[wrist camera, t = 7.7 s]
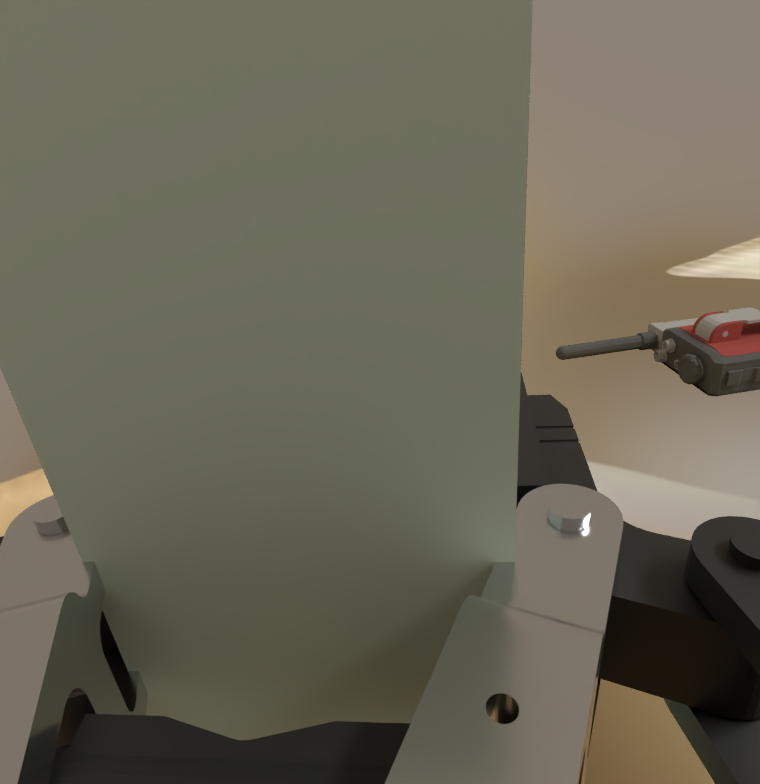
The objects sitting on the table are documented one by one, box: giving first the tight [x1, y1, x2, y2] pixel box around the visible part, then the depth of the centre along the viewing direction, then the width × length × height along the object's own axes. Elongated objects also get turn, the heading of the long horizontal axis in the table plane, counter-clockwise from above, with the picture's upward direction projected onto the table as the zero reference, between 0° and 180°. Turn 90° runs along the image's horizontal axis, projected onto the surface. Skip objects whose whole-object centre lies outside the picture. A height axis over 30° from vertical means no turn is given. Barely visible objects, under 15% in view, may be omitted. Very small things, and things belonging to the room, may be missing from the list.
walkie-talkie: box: [556, 307, 760, 396], centre depth 44 cm, size 9×4×20 cm
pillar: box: [0, 0, 532, 740], centre depth 10 cm, size 5×5×16 cm
